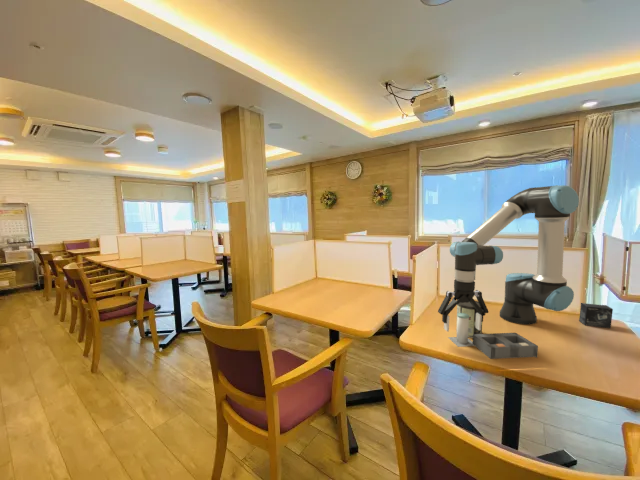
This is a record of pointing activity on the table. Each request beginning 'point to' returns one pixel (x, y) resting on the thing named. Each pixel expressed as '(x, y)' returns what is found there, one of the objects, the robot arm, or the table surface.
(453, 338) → the mat
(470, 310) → the coffee can
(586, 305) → the box
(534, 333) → the table surface
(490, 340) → the socket box
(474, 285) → the robot arm
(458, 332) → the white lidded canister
